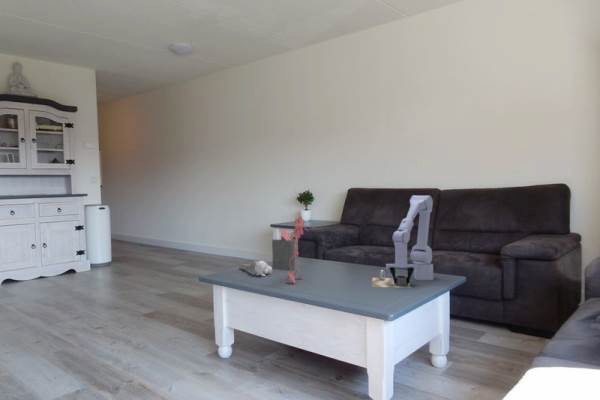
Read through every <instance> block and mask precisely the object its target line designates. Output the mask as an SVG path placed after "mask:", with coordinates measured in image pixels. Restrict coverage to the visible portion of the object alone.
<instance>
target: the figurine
mask: <svg viewBox="0 0 600 400" xmlns="http://www.w3.org/2000/svg"><path fill="white" fill-rule="evenodd" d="M294 222H295V226H294V230H293V232H292V234H291V235H290V236H289V233H288V232H287V231H286V230H284V229H283V228H281V230H280V235H281V236H282V237H283V238H284V239H285V241H288V240H290V238H291V240H292V239H293V241H295V251H294V253H293V254H294V256H295V264H298V258H297V256H299V252H298V242H297V240H299V239H301V236H302V235H304V231H303V229H305V230H306V232H308V233H310V231H309V230H308V229H307V228H306V227H305V226H304V223H305V220H304V219H302V215H298V217H296V218H295V220H294ZM295 238H296V239H297V240H296V239H295ZM294 256H293V257H294ZM293 257H292V258H293ZM292 258H291V259H292ZM291 259H290V260H291ZM290 260H289V263H290ZM297 272H298V274H299V276H300V278H301V279H302V280H303V276H302V274H300V272H299V267H298V265H296V268H295V272H294V274H293V272H292V271H291V267H290V270H288V276H287V278H286V280H285V283H287V282H288V280H289V279H290V281H291V282H292V283H293V284H294V285H295V284H296V278H295V276H296V274H297ZM312 279H314V280H315V278H313V277H312ZM279 285H281V286H282V284H281V283H280V284H279Z"/></svg>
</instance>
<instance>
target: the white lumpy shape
mask: <svg viewBox="0 0 600 400" xmlns="http://www.w3.org/2000/svg"><path fill="white" fill-rule="evenodd" d="M257 264H258V267H256V266H255V271H257V272H258V273H257V274H256V276H258V277H259V276H260V275H261V277H263V276H265V277H266V274H267V275H270V274H272V272H273V266H271V265H269V264H268V263H267V262H265V261H264V260H259V261H257ZM264 273H265V274H264Z"/></svg>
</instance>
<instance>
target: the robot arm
mask: <svg viewBox="0 0 600 400" xmlns="http://www.w3.org/2000/svg"><path fill="white" fill-rule="evenodd" d="M433 203H434V200H433V198H432V196H431V195H414V194H413V195H412V196H411V197H410V199H409V204H410V207H409V209H408V211H407V215H406V217H405V218H402V220H401V222H400V224H399V227H398V228H397V230H396V231H394V232H393V234H392V237H391V238H392V241H393V245H394V248H395V249H394V257H395V258H394V263H385V267H386V268H385V269H389V271H390V273H391V275H392V278H393V279H394V283H396V280H395V276H396V269H407V277H408V284H410V280H411V277H412V274H413V276H414V277H413V278H414V280H416V281H434V264H433V263H431V262H432V261H433V253H432V252H433V251H432V247H430V246H429V245H428V242H429V229H430V217H431V213H432V212H433ZM418 214H419V218H418V219H419V220H418V228H417V237H416V244H415V245H413V246H412V248H411V252H410V255H409V257H410V260H411V262H412V263H408V243H409V241H410V239H411V231H412V229H413V227H414V224H415V223H414V222H413V221H414V220H415V218H416V216H417V215H418Z"/></svg>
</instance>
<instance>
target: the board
mask: <svg viewBox="0 0 600 400" xmlns="http://www.w3.org/2000/svg"><path fill="white" fill-rule="evenodd" d="M371 282H372V284H371V287H372V288H400V289H401V288H402V289H403V288H405V289H407V288H408V289H411V288H412V286H411V284H410V283H409V284H408V286H396V285H395V283H394V279H393V277H385V280H384V281H381V280H380V277H372V280H371Z"/></svg>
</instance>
